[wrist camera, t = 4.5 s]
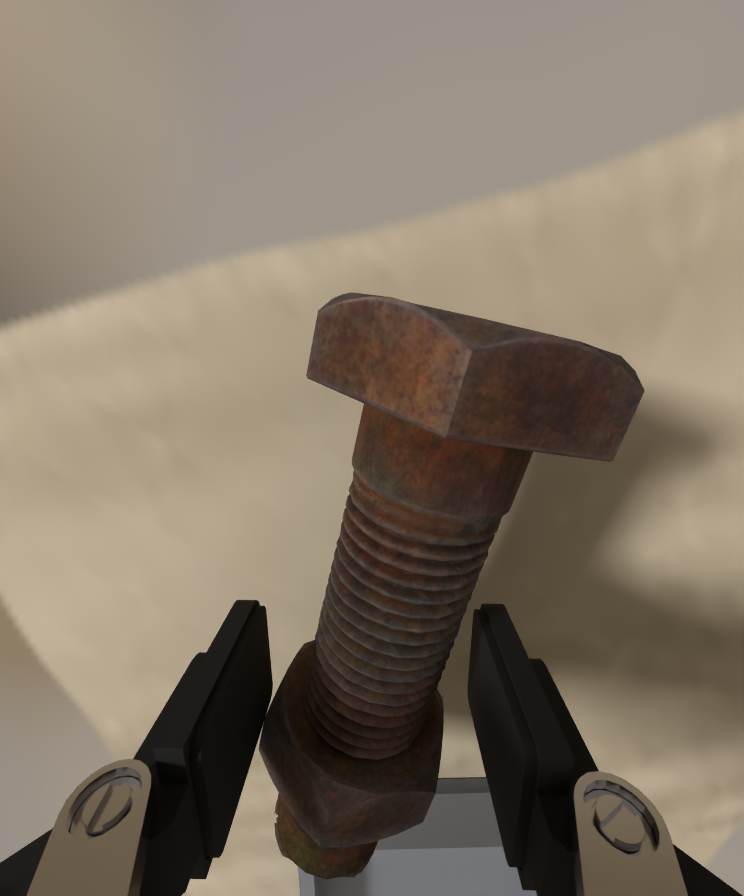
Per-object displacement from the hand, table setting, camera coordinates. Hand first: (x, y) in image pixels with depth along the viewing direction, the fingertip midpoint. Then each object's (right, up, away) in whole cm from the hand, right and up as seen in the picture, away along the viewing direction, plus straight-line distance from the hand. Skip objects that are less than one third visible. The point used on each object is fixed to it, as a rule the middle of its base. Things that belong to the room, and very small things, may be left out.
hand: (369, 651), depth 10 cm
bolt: (0, +2, +1) cm, 2 cm away
